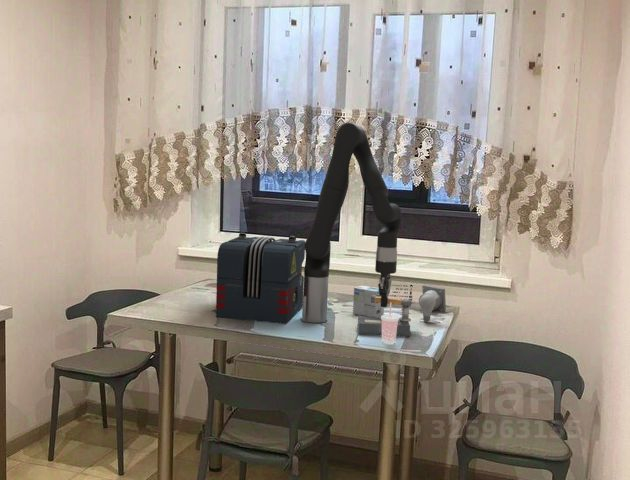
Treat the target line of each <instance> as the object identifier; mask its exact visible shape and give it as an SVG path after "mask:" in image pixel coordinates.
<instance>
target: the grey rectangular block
mask: <svg viewBox="0 0 630 480" xmlns="http://www.w3.org/2000/svg"><path fill="white" fill-rule="evenodd" d="M401 308H402V310H401V317H399V320H398V325H397V333H396V337H401V336H403V337H406V338H408V337H409V338H410V334H411V325H410V322H411V320H412V319H411V318H410V316H409V314H410V306H403V307H401ZM356 327H357V335H362V336H363V335H364V336H365V335H366V336H380V335H382V319H381V316H379V317H368V316H360V315H359V316H357V325H356ZM403 337H402V338H403Z"/></svg>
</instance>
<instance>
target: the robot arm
mask: <svg viewBox="0 0 630 480" xmlns="http://www.w3.org/2000/svg"><path fill="white" fill-rule="evenodd" d="M334 138H335V139H334V143H333V149H332V154H331V158H330V161H329V164H328V167H327V170H326V173H325V177H324V180H323V184H322V186H321V190H320V193H319V197H318V202H317V206H316V211H315V216H314V220H313V224H312V226H311V229H310V231H309V233H308V235H307V238H306V239H305V263H304V270H303V271H304V273H303V276H304V285H303V307H302V315H301V316H302V317H301V319H302V320H301V321H302V322H306V323H313V324H318V323H319V324H320V323H326V322H327V319H328V299H329V278H330V277H329V275H330V265H331V264H330V263H331V243H332V242H331V237H332V234H333V230H334V225H335V223H336V221H337V219H338V216H339V215H340V212H341V210H342V207H343V204H344V203H345V199H346V197H347V193H348V189H349V183H350V181H349V180H350V164H351V159H352V156H353V157H354V158H355V160H356V162H357V164H358V167H359V170H360V171H359V172H360V176H361V179H362V182H363V185H364V187H365V190H366V192H367V193H368V196H369V197H370V200H371V201H370V202H371V206H372V211H373V214H374V217H375V218H376V220H377V221H378V222H379V223H381V224H382V227H381V229H380V230H379V231H378V233H377V242H376V243H377V244H376V252H375V267H374V268H375V269H374V271H375V273H377V274H380V277H379V278H378V284H377V286H378V287H377V288H379V295H380V296H381V307H384V308H387V307H388V304H387V303H388V298H389V296H390V293H391V292H390V291H391V288H392V287H391V286H392V282H393V280H392V277H391V275H392V274H396V273H397V262H398V248H397V247H398V234H399V231H400V226H401V222H402V210H401V208H400V206H399V205H398V204H396V203H390V201H389V199H388V195H389V193H390V192H389V189H388V187H387V184H386V182H385V180H384V177H383V176H382V173H381V172H380V169H379V167H378V166H377V163H376V160H375V159H374V156H373V152H372V150H371V147H370V144H369V143H370V142H369V140H368V136H367V132H366V130H365V129H364V128H363V126H361V125H359V124H357V123H353V122H350V121H348V122H347V121H346V122H344V123H341V125H340V126H339V127H338V129H337V131H336V134H335V137H334Z"/></svg>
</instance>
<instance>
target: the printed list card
mask: <svg viewBox="0 0 630 480" xmlns="http://www.w3.org/2000/svg"><path fill="white" fill-rule="evenodd" d="M391 286H392V287H393V286H394V287H396V288H395V290H396V291H392V293H394V295H393V294H391V295H390V294H389V297H403V298H406V299H407V298H409V299H408V300H411V305H413V304H412V303H413V302H412V301H413V295H412V293H413V292H412V290H413V287H414V286H413V284H410V285H408V284H407V285H406V284H404V285H402V284H399V287H400V288H399V287H397V284H391ZM401 287H408V288H409V287H410V289H409V292H406V291H408V288H403V290H404V291H405V292H404V294H408V293H409V294H408V295H396V294H399V290H402V288H401ZM397 290H398V291H397ZM425 294H430V295H432V296H433V297H434V298H435V300H436V304H435V306H434V308H433V309H432V312H433V311H434V310H435V311H439V312H445V311H446V310H447V306H446V305H447V304H446V288H444V287H438V286H432V285H428V284H423V285H422V294H421V295H420V297H419V298H418V304H419V305H420V298H421V297H422V296H423V295H425ZM400 306H401V308H402V307H403V306H402V305H400Z"/></svg>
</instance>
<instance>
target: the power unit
mask: <svg viewBox="0 0 630 480" xmlns="http://www.w3.org/2000/svg"><path fill="white" fill-rule="evenodd" d="M305 242H306V240H305V239H301V240H299V239H298V240H297V238H296V236H294V235H289V236H288V238H279V239H275V237H272V236H271V237H269V236H267V237H266V236H254V237H247V234H246V232H239V234H238V236H237V237H234V238H232V239H230V240H227V241H224V242H222V243H220V244H219V247H218V250H217V256H216V257H217V258H216V265H217V266H216V293H215V295H216V296H215V297H216V302H215V317H216V318H221V319H232V320H240V321H241V320H242V321H243V320H244V321H250V322H253V321H254V322H262V323H263V322H264V323H273V324H283V325H286V324H288V323H289V322H290V321H291V319H293V318H294V317H295V315H297V314H298V312H300V310H302V309H303V293H304V275H302V273H303V272H302V269H303V263H304V260H306V251H305Z"/></svg>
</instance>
